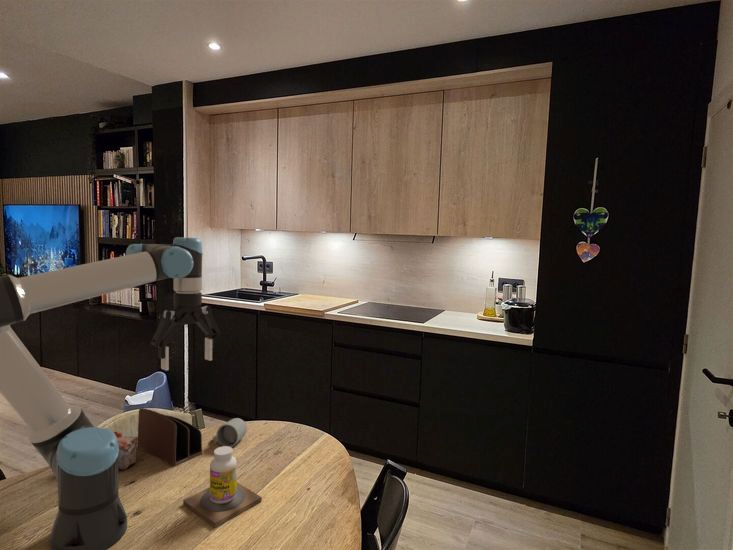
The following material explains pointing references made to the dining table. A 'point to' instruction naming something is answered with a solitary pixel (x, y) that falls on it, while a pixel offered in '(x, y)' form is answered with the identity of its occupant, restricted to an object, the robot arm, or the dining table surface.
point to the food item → (126, 450)
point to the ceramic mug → (231, 432)
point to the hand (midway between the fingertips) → (187, 364)
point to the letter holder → (168, 437)
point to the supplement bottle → (223, 476)
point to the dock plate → (221, 505)
